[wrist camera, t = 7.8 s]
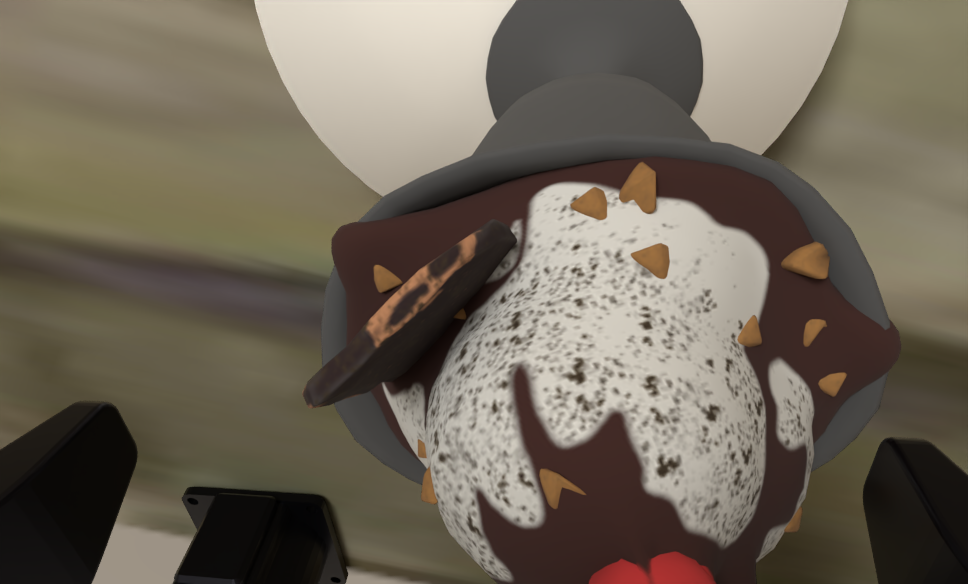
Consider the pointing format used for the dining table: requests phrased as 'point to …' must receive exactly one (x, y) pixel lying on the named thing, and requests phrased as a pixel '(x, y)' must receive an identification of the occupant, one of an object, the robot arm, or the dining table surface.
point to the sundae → (604, 319)
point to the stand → (463, 62)
